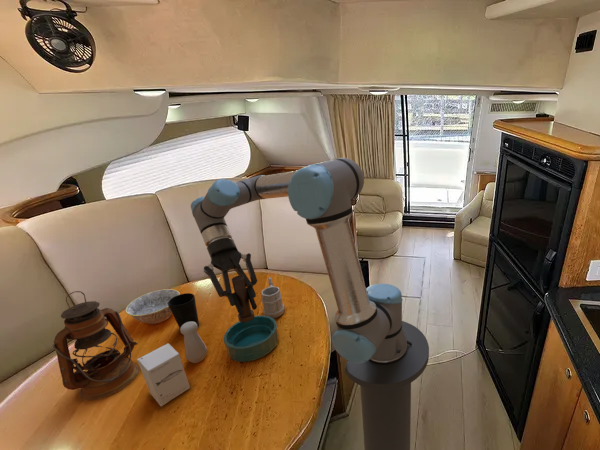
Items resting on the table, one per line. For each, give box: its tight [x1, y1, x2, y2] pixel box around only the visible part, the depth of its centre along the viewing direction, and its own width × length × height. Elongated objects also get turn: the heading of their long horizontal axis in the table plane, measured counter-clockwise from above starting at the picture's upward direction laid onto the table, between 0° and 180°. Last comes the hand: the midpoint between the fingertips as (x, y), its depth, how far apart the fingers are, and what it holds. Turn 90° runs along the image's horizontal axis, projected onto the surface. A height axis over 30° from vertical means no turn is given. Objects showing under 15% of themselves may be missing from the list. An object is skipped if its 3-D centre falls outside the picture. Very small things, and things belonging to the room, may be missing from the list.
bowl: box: [125, 288, 181, 325], centre depth 115 cm, size 16×16×8 cm
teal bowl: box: [223, 315, 280, 363], centre depth 102 cm, size 16×16×6 cm
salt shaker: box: [179, 321, 208, 364], centre depth 95 cm, size 6×6×13 cm
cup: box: [168, 292, 200, 329], centre depth 109 cm, size 8×8×12 cm
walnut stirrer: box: [231, 275, 255, 322], centre depth 93 cm, size 4×4×14 cm
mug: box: [260, 277, 285, 319], centre depth 118 cm, size 8×12×12 cm, turn 21°
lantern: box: [52, 290, 140, 401], centre depth 84 cm, size 17×13×30 cm
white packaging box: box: [136, 343, 191, 408], centre depth 84 cm, size 7×7×13 cm
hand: (248, 311), depth 91 cm, fingers closed on walnut stirrer, 3 cm apart
